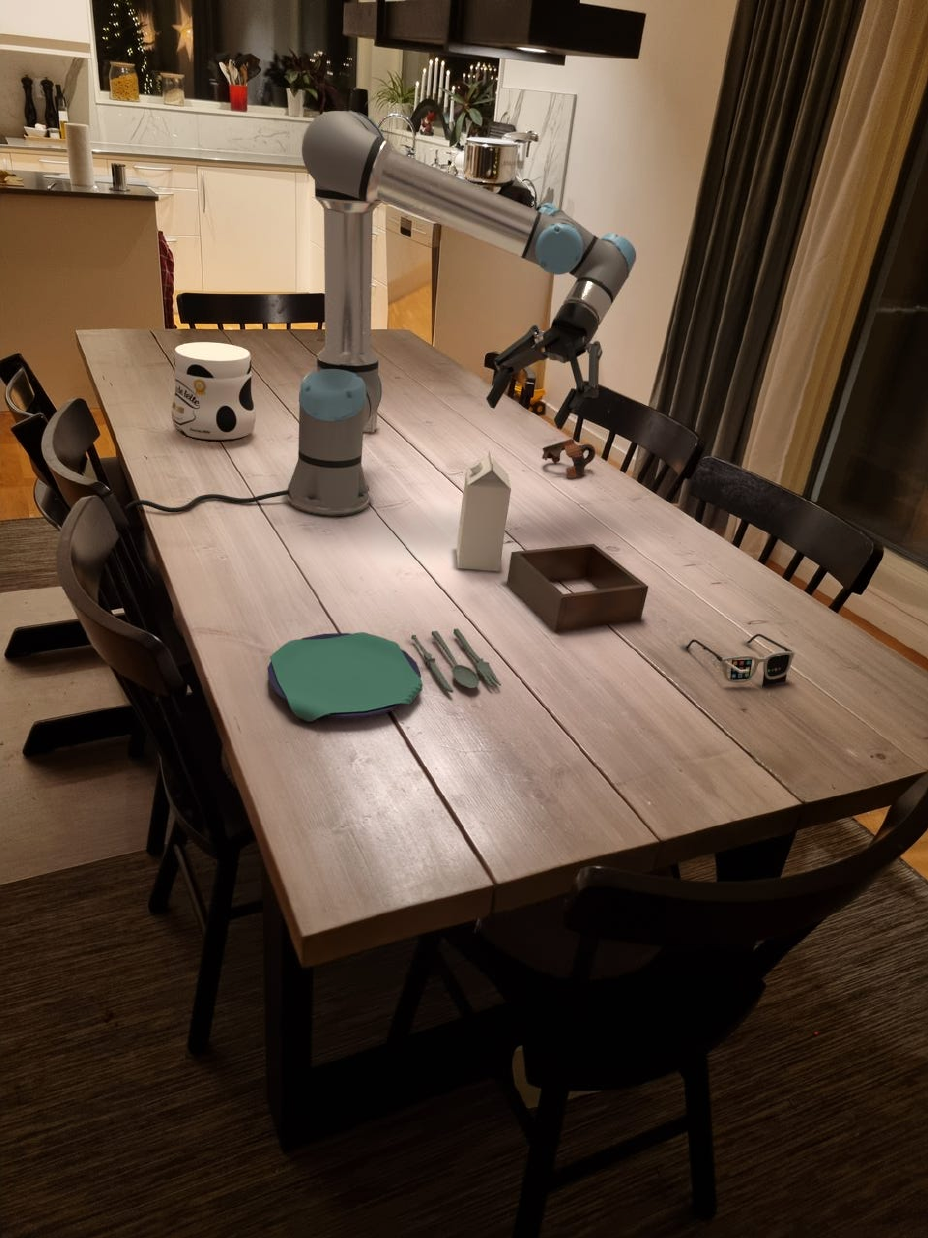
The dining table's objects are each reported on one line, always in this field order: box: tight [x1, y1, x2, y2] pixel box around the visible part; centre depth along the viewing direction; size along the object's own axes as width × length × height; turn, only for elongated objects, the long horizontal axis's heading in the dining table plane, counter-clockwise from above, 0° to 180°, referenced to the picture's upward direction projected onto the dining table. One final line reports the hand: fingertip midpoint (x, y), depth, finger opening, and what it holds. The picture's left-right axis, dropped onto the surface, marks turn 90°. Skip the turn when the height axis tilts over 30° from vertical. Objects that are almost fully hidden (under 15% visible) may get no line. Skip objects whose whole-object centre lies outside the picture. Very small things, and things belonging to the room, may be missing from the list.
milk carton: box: [456, 448, 512, 572], centre depth 152 cm, size 7×7×19 cm
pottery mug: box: [541, 438, 596, 479], centre depth 203 cm, size 12×10×8 cm
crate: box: [506, 543, 649, 633], centre depth 146 cm, size 16×16×6 cm
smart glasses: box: [685, 633, 795, 687], centre depth 134 cm, size 12×14×5 cm
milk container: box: [171, 341, 257, 444], centre depth 193 cm, size 17×17×18 cm
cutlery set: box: [267, 627, 502, 723], centre depth 121 cm, size 20×30×2 cm, turn 113°
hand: (523, 414), depth 156 cm, fingers open, 13 cm apart
